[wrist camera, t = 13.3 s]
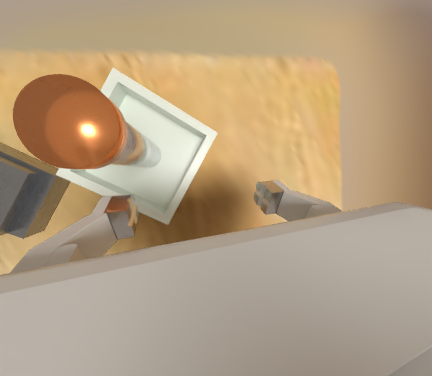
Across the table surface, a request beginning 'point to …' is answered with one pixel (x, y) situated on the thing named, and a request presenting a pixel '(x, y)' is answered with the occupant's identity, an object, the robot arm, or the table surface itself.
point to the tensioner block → (27, 193)
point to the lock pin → (78, 126)
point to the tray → (160, 135)
